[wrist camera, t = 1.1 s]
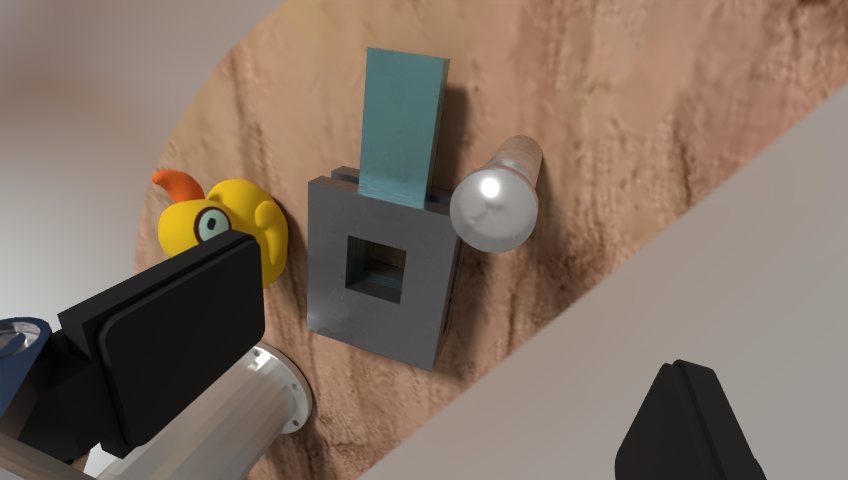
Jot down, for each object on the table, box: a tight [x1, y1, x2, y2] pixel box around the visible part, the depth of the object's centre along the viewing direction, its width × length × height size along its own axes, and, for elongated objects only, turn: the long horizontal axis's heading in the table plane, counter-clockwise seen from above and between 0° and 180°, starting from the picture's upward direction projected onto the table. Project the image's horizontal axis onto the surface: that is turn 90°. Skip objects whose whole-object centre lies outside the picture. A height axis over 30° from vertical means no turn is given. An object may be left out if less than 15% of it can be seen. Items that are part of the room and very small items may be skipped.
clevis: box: [307, 47, 466, 372], centre depth 30 cm, size 22×11×5 cm, turn 172°
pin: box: [450, 135, 542, 253], centre depth 23 cm, size 4×4×12 cm
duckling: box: [152, 170, 288, 289], centre depth 33 cm, size 11×5×10 cm, turn 16°
